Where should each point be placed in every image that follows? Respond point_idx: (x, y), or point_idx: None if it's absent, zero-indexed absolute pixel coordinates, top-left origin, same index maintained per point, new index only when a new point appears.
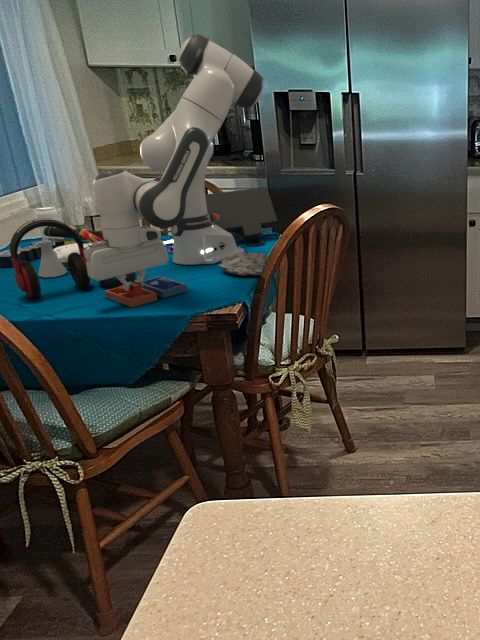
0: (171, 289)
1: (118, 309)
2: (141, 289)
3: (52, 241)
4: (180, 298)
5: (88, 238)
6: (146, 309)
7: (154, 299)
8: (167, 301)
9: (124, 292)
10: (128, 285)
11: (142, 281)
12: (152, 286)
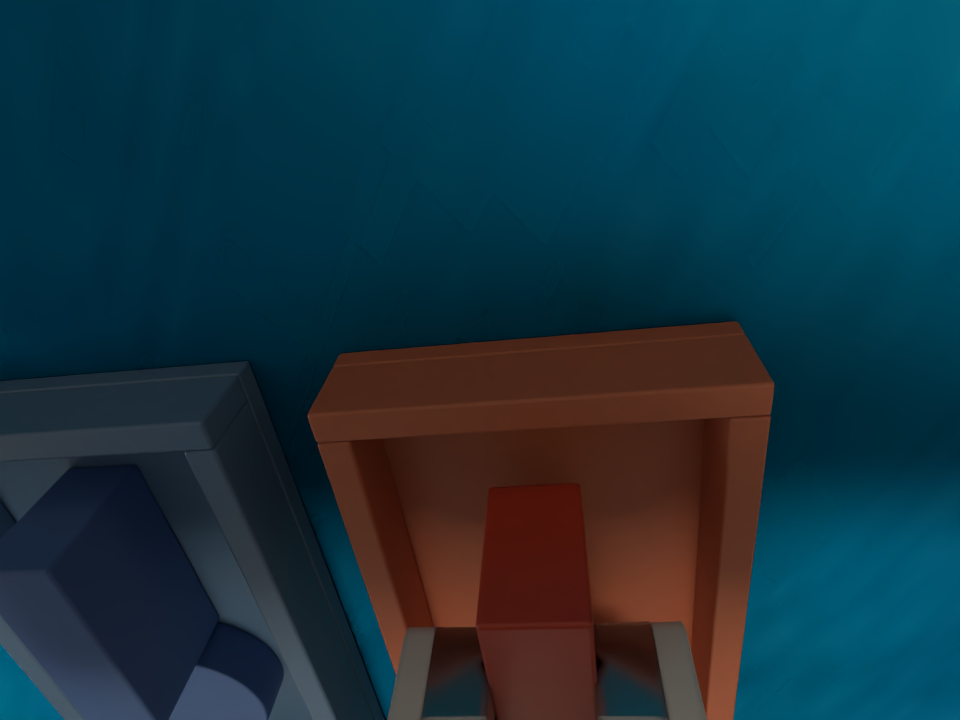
0: (69, 421)
1: (893, 374)
2: (482, 555)
3: None
4: (36, 185)
5: None
6: (648, 55)
7: (376, 358)
8: (237, 197)
9: None
10: (668, 699)
11: (394, 706)
12: (266, 675)
